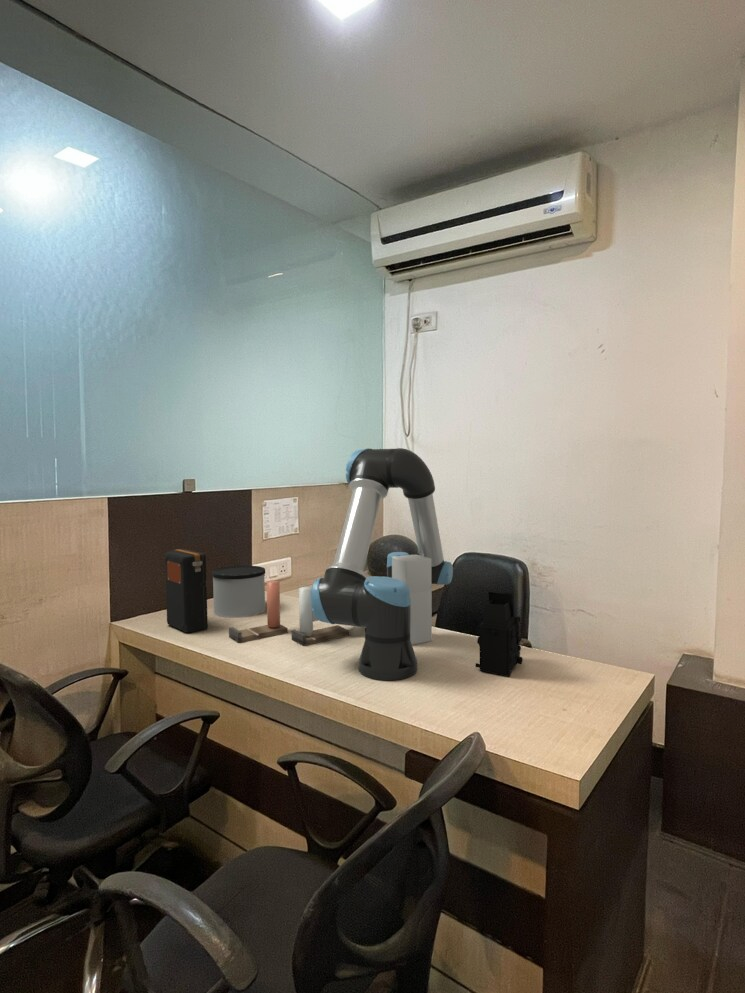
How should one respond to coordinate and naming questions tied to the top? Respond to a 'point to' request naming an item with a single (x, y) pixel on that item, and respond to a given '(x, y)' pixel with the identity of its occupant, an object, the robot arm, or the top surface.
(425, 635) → the tall white carton
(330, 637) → the brown wooden board
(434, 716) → the top surface
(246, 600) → the container
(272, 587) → the terracotta plug
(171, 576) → the voltmeter
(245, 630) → the brown base
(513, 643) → the camera
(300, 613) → the grey plug
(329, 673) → the top surface
